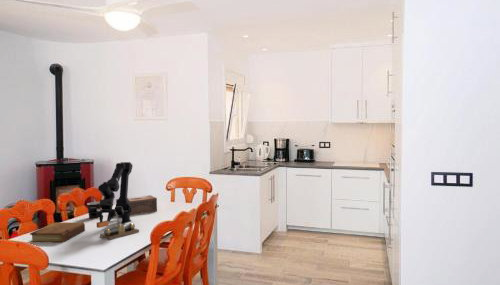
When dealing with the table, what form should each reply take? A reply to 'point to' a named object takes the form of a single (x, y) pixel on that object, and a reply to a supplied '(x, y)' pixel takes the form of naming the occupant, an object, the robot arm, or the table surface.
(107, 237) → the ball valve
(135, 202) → the tissue box cover
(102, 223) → the valve lever
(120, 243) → the table surface
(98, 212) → the robot arm
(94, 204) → the coffee mug
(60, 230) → the diary
